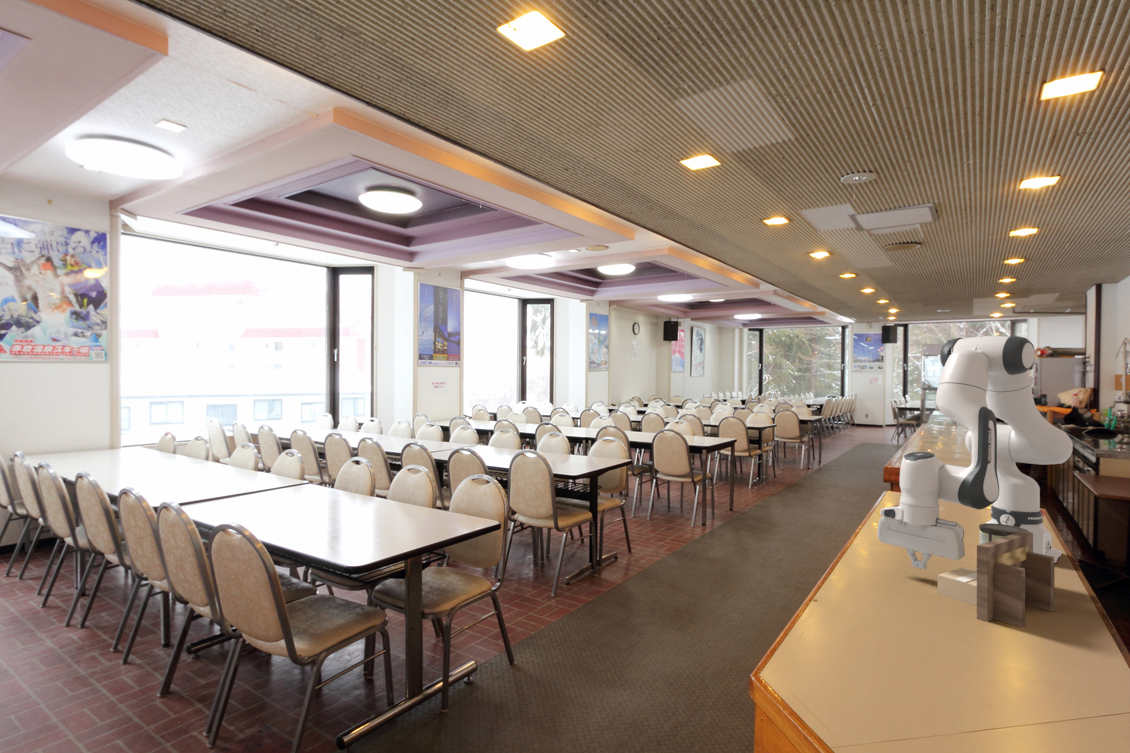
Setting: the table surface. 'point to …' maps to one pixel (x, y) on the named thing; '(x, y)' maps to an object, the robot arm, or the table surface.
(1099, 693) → the table surface
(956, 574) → the carton
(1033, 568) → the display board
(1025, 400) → the robot arm
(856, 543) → the table surface
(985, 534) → the coffee can
